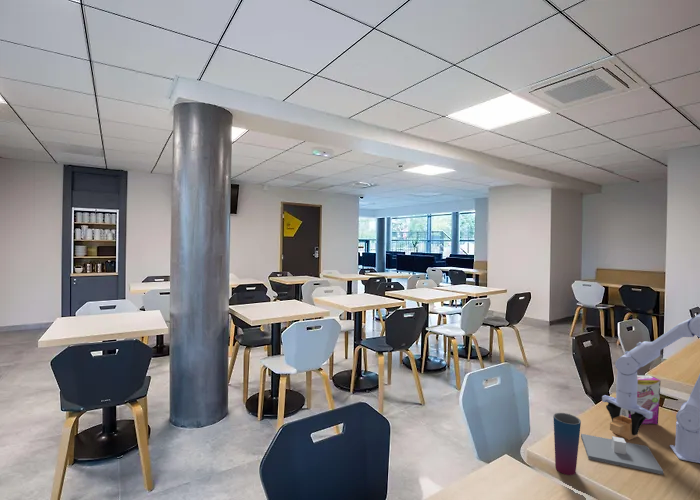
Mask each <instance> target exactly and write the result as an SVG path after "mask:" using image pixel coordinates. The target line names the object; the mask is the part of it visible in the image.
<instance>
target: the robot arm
mask: <svg viewBox="0 0 700 500" xmlns="http://www.w3.org/2000/svg"><path fill="white" fill-rule="evenodd" d="M695 336H696V337H698V338H700V313H698V314H696V315H695V317H690V318H688V319H685V320H684V321H681V322H679V323H677V324H676V325H674V326H673V327H672V328H670V329H669V330H667V331H666V332H665V333H663V334H662V335H660V336H659V337H657V338H655V339H654V340H653V341H647V340H645V341H642V342H641V341H639V342H637V343H635V344H636V346H635V347H633V348H632V349H630V350H629V351H628V350H626V351H625V352H624V354H623V355H621V356H620V357H618V358H617V359H616V360H615V364H614V365H615V369H616V370H617V371H616V372H617V373H616V385H615V386H616V388H615V397H614V396H609V395H606V394H604V395H602V396H601V401H602V402H603V403H607V405H606V406H605V408H606V410H607V411H608V414H609V416H610V418H611V422H613V418H615V417H618V416H620V411H621V408H623V409H626V410H629V411H631V412H634V414H631V415H630V416H631V421H632V435H637V434H638V435H639V430H640V428H641V426H642V425H643V424H642V423H643V421H644V420H645V419H646V418H648V419H651V418H652V416H653V412H651V411H649V410H646V409H644V408H643V407H641V406H639V405H637V386H638V379H637V375H638V370H640V369H641V368H643V367H645V366H647V365H648V364H651V362H654V361H655V360H657V359H658V358H659V357H661V351H662V350H663V349H665V348H666V347H668V346H670V345H672V344H673V343H675V342H677V341H678V340H681V339H682V338H694V337H695ZM675 420H676V422H675V441H674V445H673V444H670V445H669V448H670V449H671V450H672V451H673V452H674V454H675V455H676V457H677V458H678V459H679V460H682V461H687V462H690V463H691V462H692V463H697V464H700V373H699V374H698V377H697V380H696V381H695V383H694V386H693V388H692V391H691V392H690V395H689V396H688V399H687V401H685V402H683V403H682V404H681V406H680V409H679V410H678V411H677V412H676V415H675Z"/></svg>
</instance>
